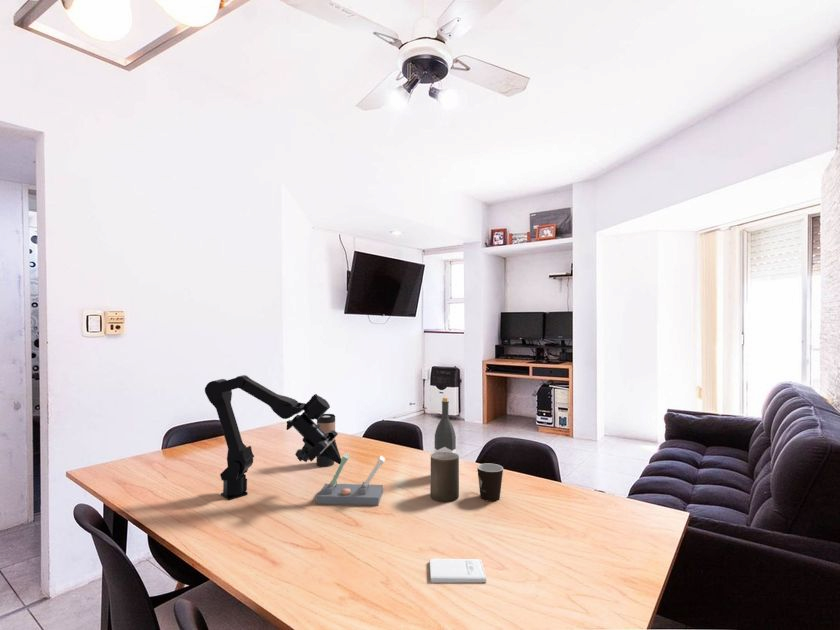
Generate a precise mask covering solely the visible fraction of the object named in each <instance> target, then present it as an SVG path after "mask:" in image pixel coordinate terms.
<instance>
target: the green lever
mask: <svg viewBox="0 0 840 630" xmlns="http://www.w3.org/2000/svg"><path fill="white" fill-rule="evenodd" d="M349 458H350V455H349V454H347V453H346V452H345V453H343V455H342V458H341V463H340V464H338V465H339V466H338V467H337V469H336V472H335V474H334V475H333V477H332V480H330V483H328V484H329V485H328V487H327V488H333V489H334V487H335V486H336V481H337V482H338V479H339V477H340V474H341V472H342V470H343V469H344V466H345V464H346V463H347V462H348V460H349Z"/></svg>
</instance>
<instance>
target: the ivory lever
mask: <svg viewBox="0 0 840 630" xmlns="http://www.w3.org/2000/svg"><path fill="white" fill-rule="evenodd" d="M385 461H386V458H385V457H384V456H382V455H380V456H379V458H378V459H377V462H376V464H375V466H374V468H373V469H372V470H371V472H370V473H369V475H368V476H367V478H366V479H365V481H363V482H362V483H361V484H362V486H361V488H366V489H367V487H368V484H369V485H370V483H371V481H372V480H373V477H375V476H376V473H377V471H378V470H379V468H380V467H381V466H383V464H384V462H385Z"/></svg>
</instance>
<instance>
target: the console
mask: <svg viewBox="0 0 840 630" xmlns="http://www.w3.org/2000/svg"><path fill="white" fill-rule="evenodd" d="M329 484H330V483H324V485H323V486H322V488H321V489H320V491H319V492H318V493H317V495H316V496H315V498H316V499H315V501H316V503H315V504H316V505H339V506H340V505H343V506H347V505H348V506H377V507H378V506H379V505H380V502H381V498H382V497H383V496H382V495H383V492H384V485H383V484H370V483H369V484H368V487H367V489H366V488H361V486H362V484H363V483H361V484H359V483H355V484H354V483H338V480H337V481H336V486H335V487H334V489H333V488H327V487H328V485H329Z"/></svg>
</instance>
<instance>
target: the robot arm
mask: <svg viewBox="0 0 840 630" xmlns="http://www.w3.org/2000/svg"><path fill="white" fill-rule="evenodd" d="M236 389H240V390H241V391H244V392H245V393H247V394H248V395H250V396H252V397H254V398H255V399H257V400H258V401H260V402H262V403H264V404H266V405H267V406H268V407H270V409H271V410H272V411H273V413H275V414H276V415H277V416H278V417H279V418H281V419H284V420H287V419H289V420H287V421H286V427H285V428H286V431H289V430H290V429H292V428H294V429H295V430H296V431H297V432H298V433H299V434H300V436H302V442H303V443H304V445H303V446H302V448H299V449H297V450H296V452H295V457H296V459H297V460H299V462H305V463H308V461H310V462H313V461H314V460H315V459H316V457H317V456H318V454H319V453H320V455H319V456H318V457H327V458H329V459H331V460H333V461H334V463H336V464H338V465H340V463H341V459H342V458H341V453H340V451H339V448H338V445H337V443H336V442H337V441H336V437H337V436H338V434H339V433H338V432H337V431H336V429H335V430H331V431H330V432H329V433H326V434H325V433H324V432H323V431H322V430H321V429H320V428H319V427H320V425H319V424H318V425H317V423H316V422H315V421H314V420H316V421H317V420H318V419H319V418H320V417H321V416H322V415H323V414H326V412H327V411H328V410H329V409H330V408H331V406H330V403H329V401H327V399H325V398H324V397H322V396H319V395H318V394H317V393H315V394H313V395H312V396H311V398H310V399H309V400H308V401H307V402H306V403H304V402H299V401H298V400H296V399H294V398H292V397H290V396H286V395H281V394H278V393H276V392H274V391H273V390H271V389H269V388H267V387H266V386H264V385H262V384H260V383H258V382H257V381H255V380H254V379H252V378H250V377H249V376H248V375H246V374H244V375H238V376H236V377H235V378H234V377H233V378H230V379H228V380H227V379H224V378H221V379H216V380H211V381H209V382H208V383H207V384H206V385H205V387H204V393H205V395H206V397H207V400H208V402H209V403H211V405H212V406H213V407H214V408H215V410H216V413H217V417H218V420H219V423H220V426H221V430H222V433H223V436H224V438H225V439H224V441H225V443H226V446H227V454H226V462H227V463H226V464H227V467H226V468H225V469H224V470H223V471H222V472H221V473H220V474H219V477H220V479H221V481H222V482H223V483H222V486H223V487H222V488H223V490H222V492H221V493H220V495H221V496H222V497H223V498H225V499H227V500H233V499H236V498H239V497H243V496H247V495H248V494H249V492H248V478H247V475H246V473H247V472H248V470H249V469H250V467H252V465H253V463H254V457H255V455H254V453H253V449H252V446H251V445H249V446H247V445H245V444H244V442H243V439H242V436H241V433H240V429H239V426H238V422H237V419H236V416H235V413H234V410H233V406H232V398H233V393H232V392H233V391H232V390H236ZM301 412H302V413H301ZM300 413H301V414H300ZM292 417H293V418H292ZM290 418H292V419H291V420H290ZM334 438H335V440H334V441H333V442H331V441H332V440H333V439H334Z"/></svg>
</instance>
